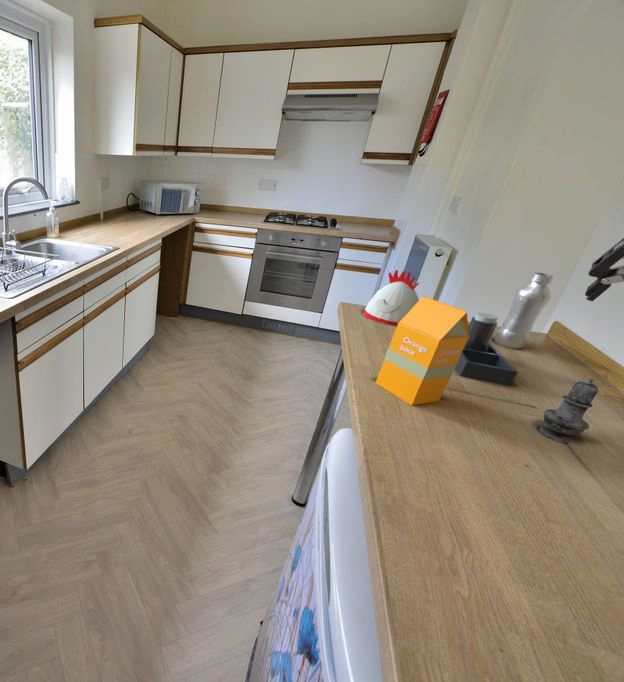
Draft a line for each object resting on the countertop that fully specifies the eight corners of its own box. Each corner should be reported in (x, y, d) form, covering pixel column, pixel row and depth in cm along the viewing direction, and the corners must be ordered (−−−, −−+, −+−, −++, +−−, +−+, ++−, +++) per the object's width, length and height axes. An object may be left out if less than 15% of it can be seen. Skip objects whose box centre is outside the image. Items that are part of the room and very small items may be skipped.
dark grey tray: (482, 356, 104) (489, 341, 103) (509, 388, 90) (518, 372, 88) (440, 348, 108) (446, 334, 106) (459, 377, 93) (466, 362, 91)
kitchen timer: (376, 308, 134) (392, 263, 127) (423, 322, 124) (443, 274, 117) (355, 315, 127) (370, 268, 120) (403, 331, 117) (423, 281, 110)
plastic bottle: (500, 349, 108) (537, 276, 100) (486, 339, 114) (520, 269, 106) (528, 353, 107) (569, 279, 98) (512, 342, 113) (549, 272, 104)
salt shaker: (576, 449, 71) (616, 391, 66) (531, 432, 75) (566, 376, 70) (580, 436, 75) (618, 380, 70) (536, 421, 79) (569, 366, 74)
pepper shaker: (475, 355, 103) (496, 314, 98) (482, 363, 99) (503, 321, 94) (453, 351, 105) (471, 310, 100) (458, 358, 101) (478, 317, 96)
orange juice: (411, 405, 82) (451, 312, 73) (374, 383, 89) (407, 296, 81) (440, 401, 84) (482, 310, 75) (401, 379, 91) (436, 294, 83)
